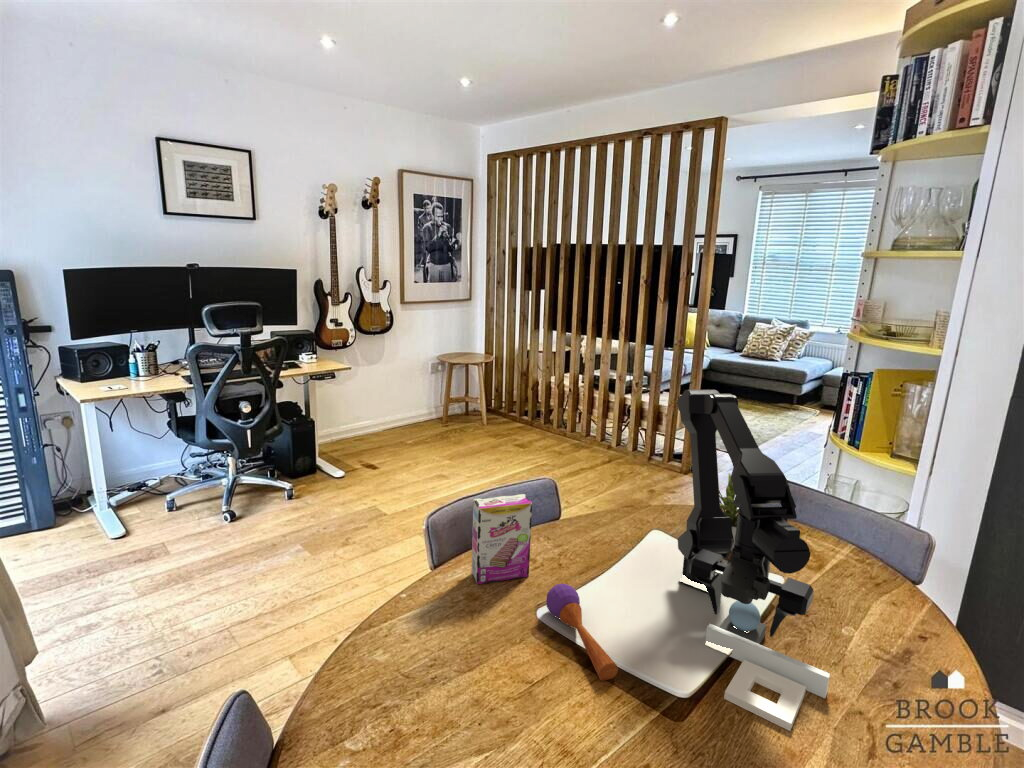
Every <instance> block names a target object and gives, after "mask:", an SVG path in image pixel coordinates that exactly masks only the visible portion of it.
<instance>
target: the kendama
mask: <svg viewBox="0 0 1024 768" xmlns="http://www.w3.org/2000/svg"><path fill="white" fill-rule="evenodd" d="M545 602H546V603H545V605H546V608H547V609H548V611H549V613H550V615H552V616H553V615H554V616H556V617H558V618H560V619H559V620H560V621H561V622H562V624H565V625H567V626H570V627H571V628H574V629H575V630H577V633H578V635H579V637H580V639H581V641H582V643H583V647H584V648H585V650H586V652H587V654H588V657H589V659H590V661H591V663H592V666H593V667H594V671H595V673H596V674H597V676H598V679H599V680H600V681H602V682H604V681H607V680H611V679H614V677H616V675H617V674H618V672H619V667H618V664H617V663H616V662H615V661H614V660H613V659H612V657H611V656H610V655H609V654H608V652H606V651H605V650H604V649H603V647H602V646H601V645H600V644H599V643H598V641H597V640H596V639H595V637H593V636H592V635H591V633H590V632H589V631H588V630H587V629H586V628H585V626H584V625H583V619H582V617H583V615H582V614H583V612H582V607H581V605H580V604H581V603H580V596H579V594H578V591H576V589H575V588H574V587H573V586H572V585H570V584H567V583H557V584H556V585H554V586H552V587H551V589H549V591H548V592H547V595H546V601H545ZM554 616H553V617H554ZM556 617H555V618H556ZM558 618H557V619H558Z"/></svg>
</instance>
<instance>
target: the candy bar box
mask: <svg viewBox="0 0 1024 768" xmlns="http://www.w3.org/2000/svg"><path fill="white" fill-rule="evenodd" d="M472 502H473V503H472V538H471V543H472V545H471V574H472V577H473V578H474V580H475V583H476V585H483V584H488V583H496V582H502V581H509V580H515V579H520V578H521V579H522V578H528V577H530V558H531V537H532V520H533V519H532V516H533V502H532V500H531V499H530V498H528V496H527V495H526V494H525V493H522V494H521V493H520V494H513V495H512V494H511V495H510V494H509V495H503V496H490V497H482V498H480V497H479V498H473V501H472Z"/></svg>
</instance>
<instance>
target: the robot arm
mask: <svg viewBox="0 0 1024 768" xmlns="http://www.w3.org/2000/svg"><path fill="white" fill-rule="evenodd" d="M677 409H678V411H679V416H680V421H681V423H682V425H683V426H684V427H685V429H686V430H687V432H688V433H689V437H690V439H689V440H690V455H691V456H690V457H691V472H692V474H691V475H692V487H693V488H692V489H693V491H692V492H693V493H692V494H693V508H692V510H691V512H690V513H689V516H688V517H687V519H686V530H685V531H684V532H683V533H681V534H680V535H679V536H678V537H677V549H678V550H679V552H680V553H681V555H682V556H683V562H682V563H683V566H682V573H681V574H683V575H685V576H686V577H687V578H688V579H690V580H691V581H694V582H697V583H700V584H704V585H705V586H706V588H707V591H708V593H707V594H708V597H709V599H710V603H711V607H712V610H713V612H714V615H715V616H717V615H718V614H719V612H720V608H721V603H722V602H721V601H722V600H721V599H722V597H725V598H729V599H733V600H735V601H740V602H741V603H743V604H750V603H753V600H755V601H758V600H762V601H766V599H767V597H768V594H769V593H771V594H773V595H777V596H778V603H777V604H776V606H775V608H774V609H775V610H774V611H775V613H774V615H773V618H772V623H771V627H770V630H769V631H770V632H769V637H771V638H773V637H774V635H775V633H776V631H777V630H778V628H779V627H780V624H781V623H782V622H783V620H784V619H785V618H786V617H787V616H788V615H790V616H792V617H795V616H797V615H799V616H806V614H807V613H808V610H809V608H810V606H811V604H812V603H813V599H814V592H815V591H814V588H813V587H812V585H811V584H808V583H806V582H803V581H800V580H797V579H794V578H791V577H787V578H786V580H785V582H784V583H781V582H778V581H775V580H772V579H770V578H769V574H770V570H771V564H772V565H773V566H774V567H775V568H776V569H777V570H778V571H779V572H781V573H784V574H789V575H790V574H795V573H798V572H800V571H801V570H802V569H804V568H805V567H806V566H807V564H808V562H809V561H810V558H811V551H810V546H809V545H808V543H807V542H806V541H805V540H804V539H803V538H801V530H800V529H799V528H798V527H796V526H794V525H792V524H790V523H789V522H788V520H797V517H798V515H797V513H796V508H797V506H796V502H795V499H794V498H793V494H792V492H791V489H790V485H789V481H788V479H787V477H786V475H785V474H784V472H783V471H782V469H781V468H780V466H779V465H778V464H777V462H776V461H775V460H773V458H771V457H770V456H768V455H766V454H764V453H763V452H762V450H761V449H760V447H759V445H758V444H757V442H756V440H755V438H754V435H753V433H752V431H751V430H750V428H749V425H748V424H747V422H746V420H745V418H744V416H743V414H742V412H741V410H740V408H739V400H738V398H737V396H736V395H734V394H732V393H720V392H719V391H718V390H716V389H685V390H684V391H683V393H682V394H681V395H679V396H678V399H677ZM717 431H718V435H719V436H720V439H721V441H722V443H723V446H724V447H725V449H726V452H727V454H728V457H729V458H730V461H731V464H732V466H733V468H732V472H731V473H730V475H731V480H732V484H733V490H734V493H735V496H736V498H737V499H735V498H734V501H733V503H734V504H735V505H736V506H737V507H738V508H737V510H738V509H739V510H738V513H737V514H738V518H737V527H736V535H735V544H734V547H733V549H732V546H733V543H734V538H733V534H732V521H731V519H730V517H726V515H725V514H724V510H723V509H721V508H720V501H721V498H720V496H721V495H720V494H719V491H720V483H719V482H720V481H719V471H718V470H719V469H718V468H719V467H718V453H717V451H718V450H717V438H716V436H717V435H716V434H717ZM719 495H720V496H719ZM774 504H776V505H778V504H780V505H781V506H765V505H774ZM722 510H723V511H722ZM731 549H732V551H731ZM730 553H731V555H730ZM724 559H728V561H727V563H726V564H725V563H723V560H724Z"/></svg>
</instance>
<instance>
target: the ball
mask: <svg viewBox="0 0 1024 768" xmlns="http://www.w3.org/2000/svg"><path fill="white" fill-rule="evenodd" d="M728 615H729V618H730V621H731V623H732V624H733V625H734V626H735V627H736V628H737V629H739V630H741V631H746V632H748V631H752V630H754V629H756V628H757V627H758V625H759V623H761V613H760V611H759V609H758V607H757V606H756V605H755V604H754V603H753V602H751V603H750V604H743V603H741V602H740V601H737V600H735V601H734V602H733V603H732V604H731V605H730V607H729V610H728Z"/></svg>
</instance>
